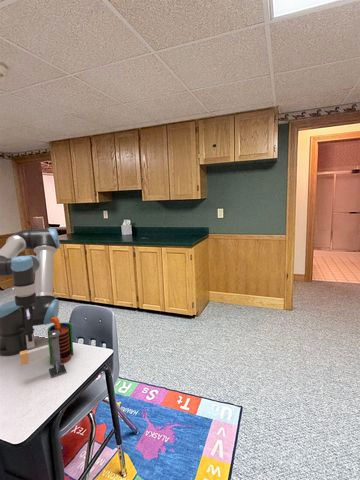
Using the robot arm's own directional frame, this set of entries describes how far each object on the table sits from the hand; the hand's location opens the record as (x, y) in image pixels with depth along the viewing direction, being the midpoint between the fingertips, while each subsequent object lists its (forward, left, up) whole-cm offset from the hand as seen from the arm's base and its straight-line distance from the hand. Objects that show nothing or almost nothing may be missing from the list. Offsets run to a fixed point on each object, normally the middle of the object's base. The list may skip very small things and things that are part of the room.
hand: (30, 347), depth 111 cm
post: (+6, +9, -12) cm, 15 cm away
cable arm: (+6, +1, -3) cm, 6 cm away
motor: (-3, +12, -12) cm, 17 cm away
